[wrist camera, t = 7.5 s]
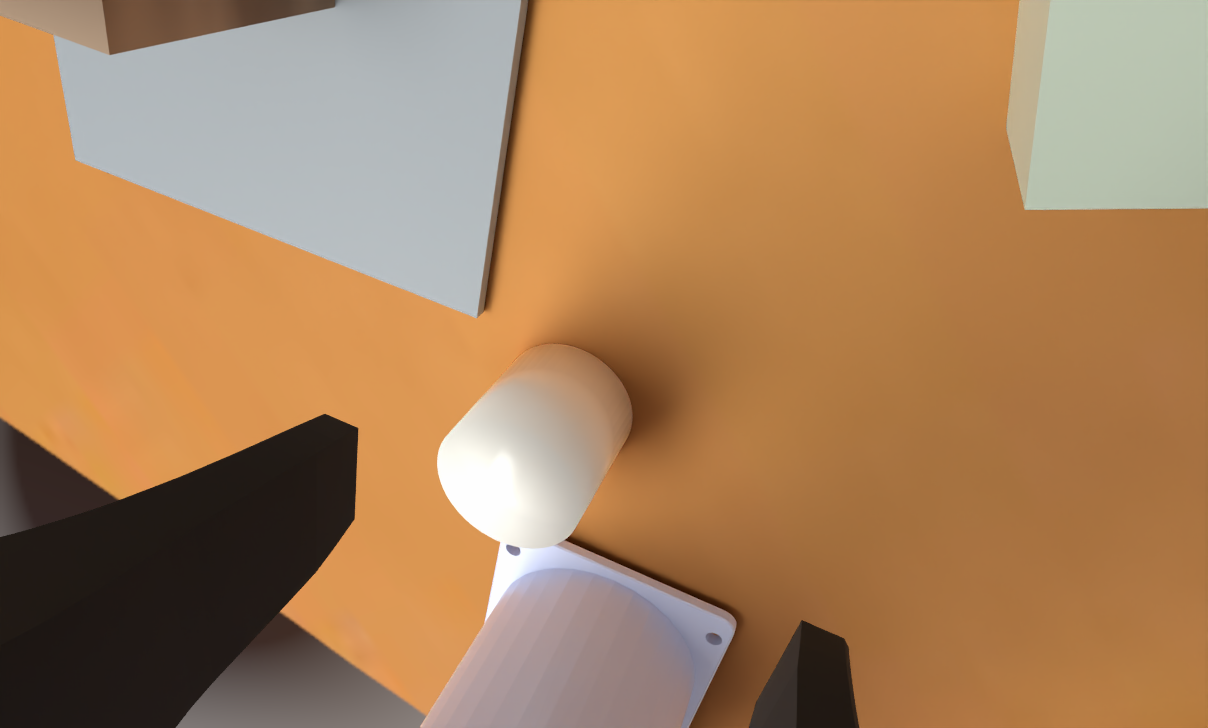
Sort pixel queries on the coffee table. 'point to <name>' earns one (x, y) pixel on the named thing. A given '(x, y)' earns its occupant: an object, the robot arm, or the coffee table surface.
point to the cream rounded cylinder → (536, 446)
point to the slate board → (324, 131)
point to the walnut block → (147, 18)
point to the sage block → (1110, 104)
